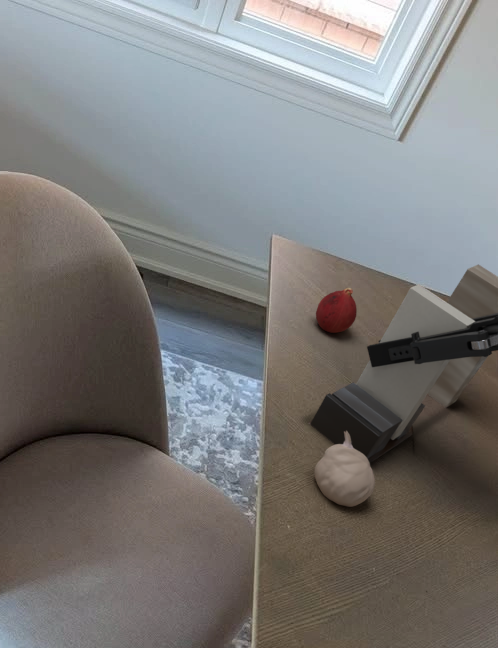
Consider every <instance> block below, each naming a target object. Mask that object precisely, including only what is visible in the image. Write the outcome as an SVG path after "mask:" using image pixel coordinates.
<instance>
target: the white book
mask: <svg viewBox="0 0 498 648" xmlns="http://www.w3.org/2000/svg"><path fill="white" fill-rule="evenodd" d="M474 323H475V321H474V320H472V319H471V318H469V317H468V316H466V315H465V314H463V313H462V312H460V311H459V310H457V309H456V308H454V307H453V306H451V305H450V304H448V303H447V301H445V300H443V299H442V298H440V297H439V296H438V295H436V294H435V293H433V292H432V291H430V290H429V289H427V288H426V287H424V286H423V285H421V284H416V285H414V286H411V287H410V288H409V289H408V291H407V293H406V295H405V297H404V298H403V300H402V302H401V304H400V306H399V307H398V309H397V311H396V313H395V314H394V316H393V318H392V320H391V322H390V323H389V325H388V326H387V328H386V330H385V332H384V334H383V335H382V337H381V339H380V340H381V341H380V343H383V342H388V341H394V340H399V339H404V338H409V337H412V336H411V334H412V333H415V332H419V336H420V337H426V336H431V335H436V334H440V333H445V332H450V331H455V330H460V329H465V328H469V327H471V325H472V324H474ZM449 361H450V360H442V361H434V362H427V363H422V364H415V363H414V361H408V362H402V363H396V364H390V365H384V366H378V367H372V365H371V361H370V359H369V360H368V361H367V364H366V366H365V367H364V369H363V370H362V373H361V375H360V376H359V378H358V380H357V381H356V383H355V384H356V385H358V386H359V387H360V388H362V389H363V390H364V391H366V392H367V393H368V394H369V395H371V396H372V397H373V398H375V399H376V400H377V401H379V402H380V403H381V404H383V405H384V406H385V407H386V408H388V409H389V410H390V411H392V412H393V413H394V414H396V415H397V416H398V417H400V418H401V419H402V422H401V423H400V425H399V426H398V428H397V429H396V431H395V432H394V434H393V435H392V437H391V439H392V440H394V439H395V438H397V437H398V436H400V435H401V433H402V432H403V430H404V429H405V427H406V426H407V424H408V423H409V421H410V420H411V418H412V417H413V415H414V414H415V412H416V411H417V409H418V408H419V406H420V405H421V403H422V404H423V402H424V400H425V399H426V397H427V396H428V395H427V394H428V393H429V391H430V390H431V388H432V387H433V385H434V384H435V382H436V381H437V379H438V378H439V376H440V375H441V373H442V372H443V370H444V369H445V367H446V366H447V364H448V362H449Z"/></svg>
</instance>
